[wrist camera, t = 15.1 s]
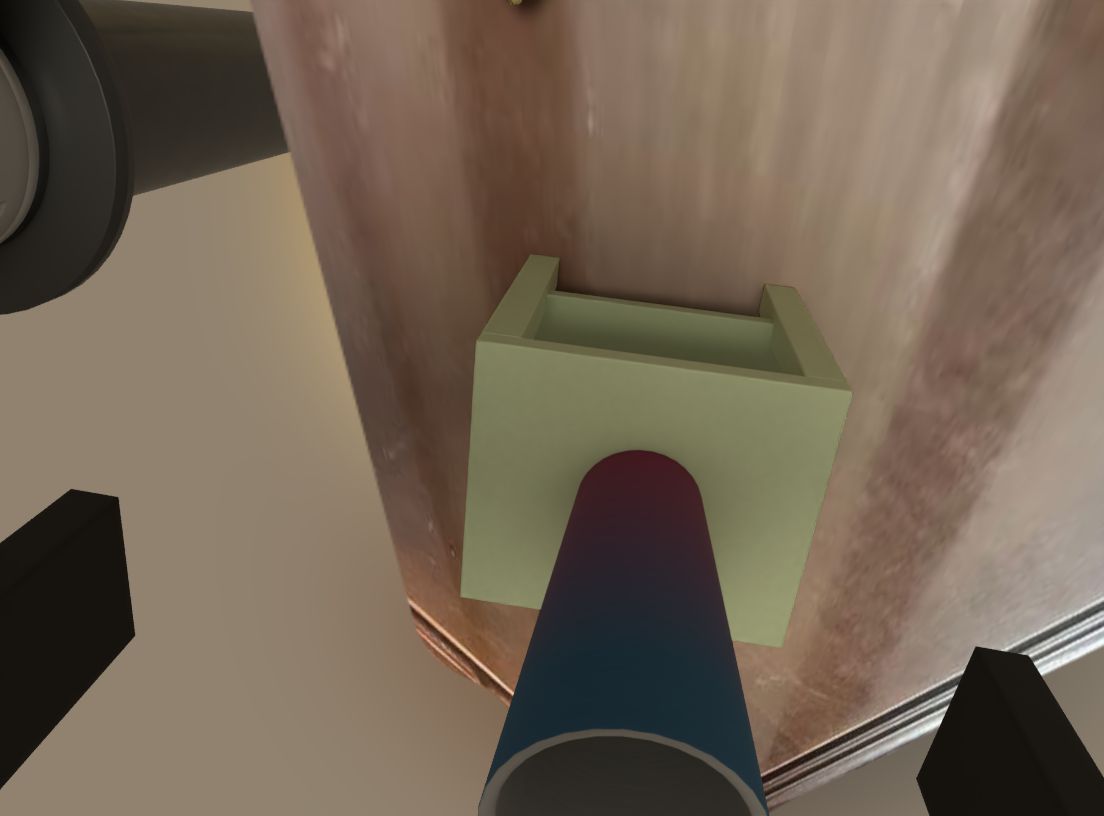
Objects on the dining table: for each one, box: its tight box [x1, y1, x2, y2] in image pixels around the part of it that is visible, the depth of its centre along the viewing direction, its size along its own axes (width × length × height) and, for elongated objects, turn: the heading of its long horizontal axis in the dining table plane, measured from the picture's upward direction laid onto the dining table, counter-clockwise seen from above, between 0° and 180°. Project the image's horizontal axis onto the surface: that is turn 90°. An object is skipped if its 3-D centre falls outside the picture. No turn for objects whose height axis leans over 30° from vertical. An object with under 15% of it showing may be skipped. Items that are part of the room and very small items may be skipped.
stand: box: [460, 254, 853, 648], centre depth 38 cm, size 14×12×14 cm
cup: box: [478, 450, 769, 816], centre depth 25 cm, size 7×7×15 cm
